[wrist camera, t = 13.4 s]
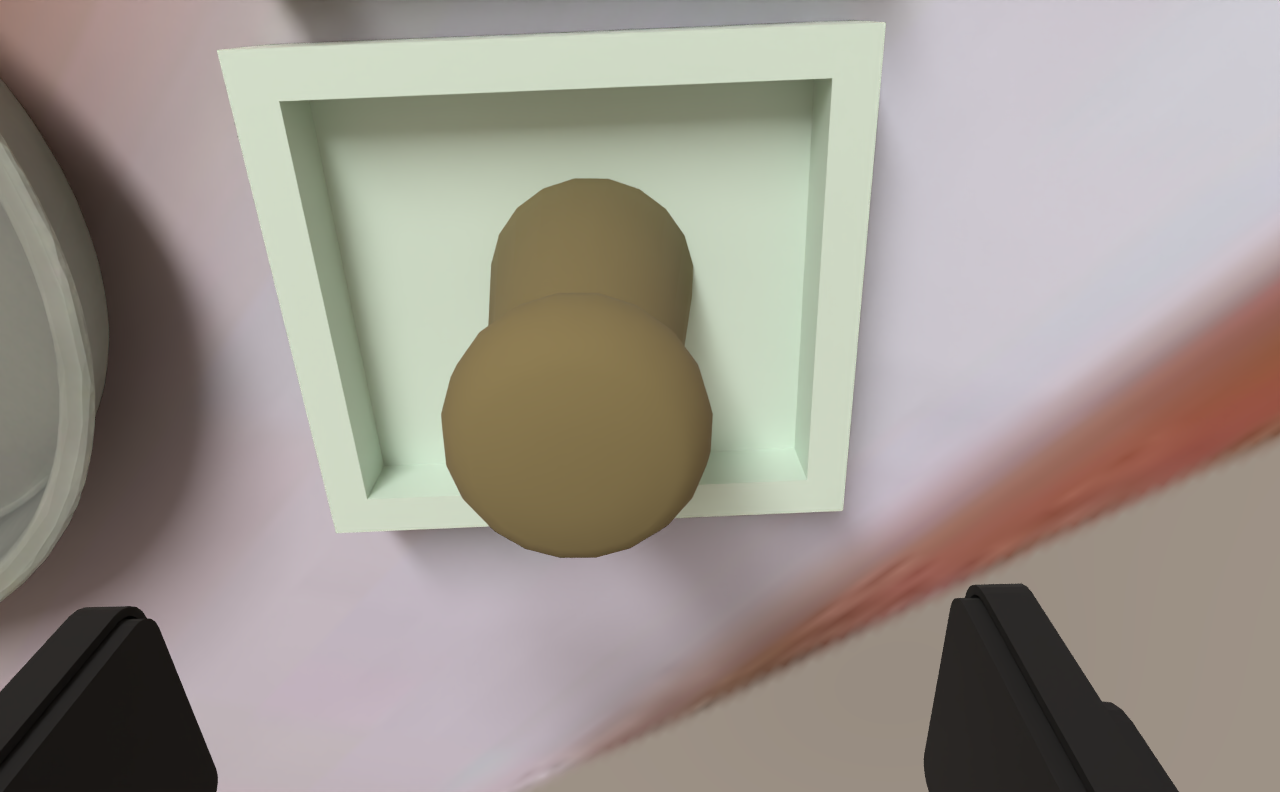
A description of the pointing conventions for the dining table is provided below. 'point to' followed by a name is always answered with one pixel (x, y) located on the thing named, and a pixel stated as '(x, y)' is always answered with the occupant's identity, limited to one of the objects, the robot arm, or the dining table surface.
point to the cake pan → (43, 347)
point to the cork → (581, 377)
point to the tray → (518, 169)
